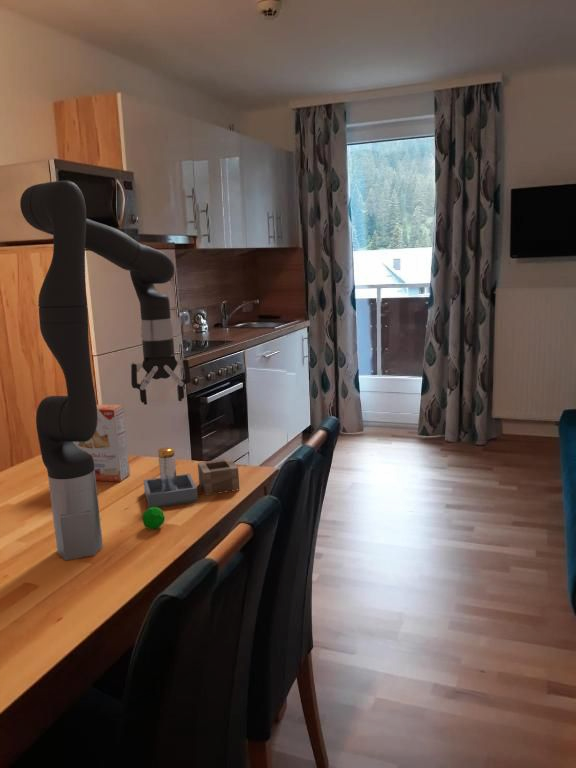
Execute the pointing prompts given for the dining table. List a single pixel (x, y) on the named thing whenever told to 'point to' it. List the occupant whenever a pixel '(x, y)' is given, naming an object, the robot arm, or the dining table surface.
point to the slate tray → (170, 492)
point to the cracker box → (109, 444)
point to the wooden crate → (218, 476)
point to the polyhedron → (153, 518)
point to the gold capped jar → (167, 469)
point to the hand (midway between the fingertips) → (162, 402)
